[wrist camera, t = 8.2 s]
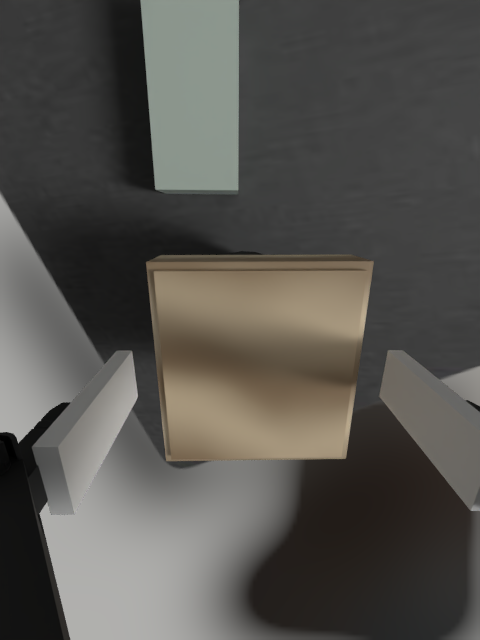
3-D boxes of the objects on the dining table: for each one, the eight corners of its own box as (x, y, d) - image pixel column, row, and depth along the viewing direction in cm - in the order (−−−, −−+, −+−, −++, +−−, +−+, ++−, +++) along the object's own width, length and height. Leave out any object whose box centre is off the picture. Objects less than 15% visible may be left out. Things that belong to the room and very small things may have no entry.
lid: (160, 255, 17) (144, 262, 14) (350, 254, 17) (376, 262, 14) (175, 428, 21) (165, 464, 18) (330, 426, 21) (347, 462, 18)
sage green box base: (153, 10, 21) (138, -30, 18) (238, 11, 21) (238, -28, 18) (165, 193, 25) (155, 189, 21) (237, 194, 25) (238, 190, 21)
